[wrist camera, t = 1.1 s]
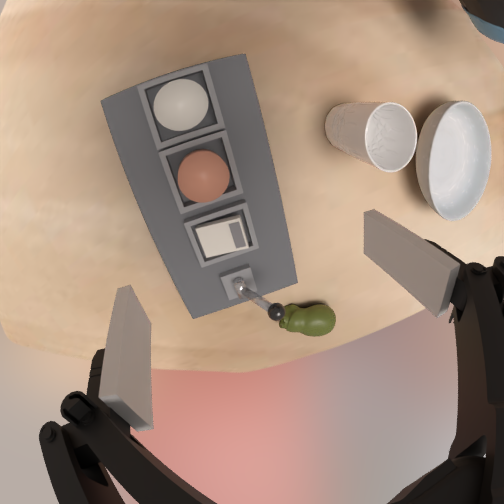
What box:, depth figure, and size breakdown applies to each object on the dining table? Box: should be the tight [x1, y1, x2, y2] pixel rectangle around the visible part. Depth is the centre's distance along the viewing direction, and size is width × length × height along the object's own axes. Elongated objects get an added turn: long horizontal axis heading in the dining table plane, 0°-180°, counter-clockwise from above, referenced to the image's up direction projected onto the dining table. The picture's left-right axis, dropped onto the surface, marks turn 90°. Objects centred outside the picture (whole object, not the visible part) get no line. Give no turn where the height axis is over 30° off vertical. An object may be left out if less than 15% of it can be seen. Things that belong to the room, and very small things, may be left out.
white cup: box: [325, 102, 417, 172], centre depth 29 cm, size 8×8×10 cm
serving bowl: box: [416, 101, 491, 221], centre depth 36 cm, size 21×21×7 cm
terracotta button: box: [178, 149, 230, 203], centre depth 27 cm, size 5×5×3 cm
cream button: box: [154, 79, 208, 131], centre depth 23 cm, size 5×5×3 cm
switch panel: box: [101, 54, 298, 319], centre depth 32 cm, size 16×31×5 cm, turn 14°
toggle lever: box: [233, 278, 286, 321], centre depth 33 cm, size 2×2×8 cm
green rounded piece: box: [279, 304, 336, 336], centre depth 46 cm, size 6×5×10 cm
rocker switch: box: [196, 215, 249, 258], centre depth 32 cm, size 5×4×1 cm
